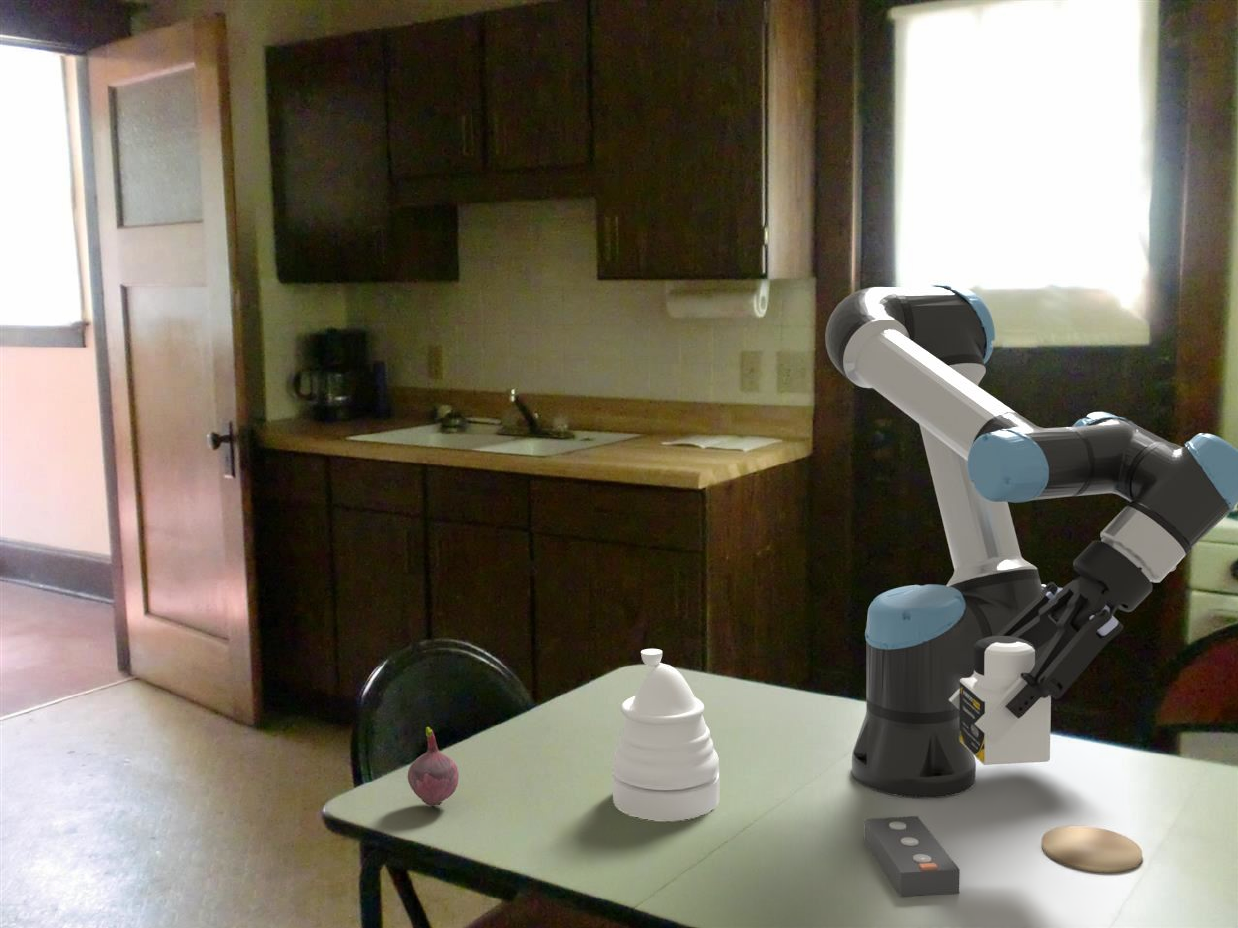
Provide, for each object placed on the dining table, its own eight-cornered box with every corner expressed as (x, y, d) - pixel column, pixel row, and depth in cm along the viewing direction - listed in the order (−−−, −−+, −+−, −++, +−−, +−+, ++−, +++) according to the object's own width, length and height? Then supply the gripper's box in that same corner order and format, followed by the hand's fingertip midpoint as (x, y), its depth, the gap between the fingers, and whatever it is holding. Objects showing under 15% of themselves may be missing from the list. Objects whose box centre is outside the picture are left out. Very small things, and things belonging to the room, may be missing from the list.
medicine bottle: (958, 741, 129) (958, 632, 127) (1022, 738, 129) (1024, 629, 128) (982, 766, 122) (983, 651, 120) (1051, 762, 122) (1052, 647, 121)
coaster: (1029, 856, 128) (1030, 851, 128) (1056, 823, 136) (1056, 818, 136) (1129, 880, 122) (1129, 875, 122) (1151, 844, 130) (1151, 839, 130)
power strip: (864, 840, 132) (864, 815, 132) (917, 837, 133) (917, 813, 133) (900, 896, 120) (900, 869, 119) (959, 892, 120) (959, 866, 120)
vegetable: (434, 793, 148) (431, 714, 147) (471, 804, 145) (468, 724, 143) (398, 810, 143) (394, 729, 142) (435, 821, 140) (432, 739, 138)
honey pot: (590, 801, 145) (587, 656, 142) (660, 770, 154) (658, 634, 152) (672, 831, 136) (669, 677, 134) (741, 796, 145) (740, 652, 143)
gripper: (1203, 608, 115) (1034, 780, 116) (1105, 566, 134) (962, 713, 135) (1150, 556, 114) (981, 729, 115) (1059, 521, 133) (916, 669, 134)
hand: (971, 720), depth 125 cm, fingers closed on medicine bottle, 7 cm apart
